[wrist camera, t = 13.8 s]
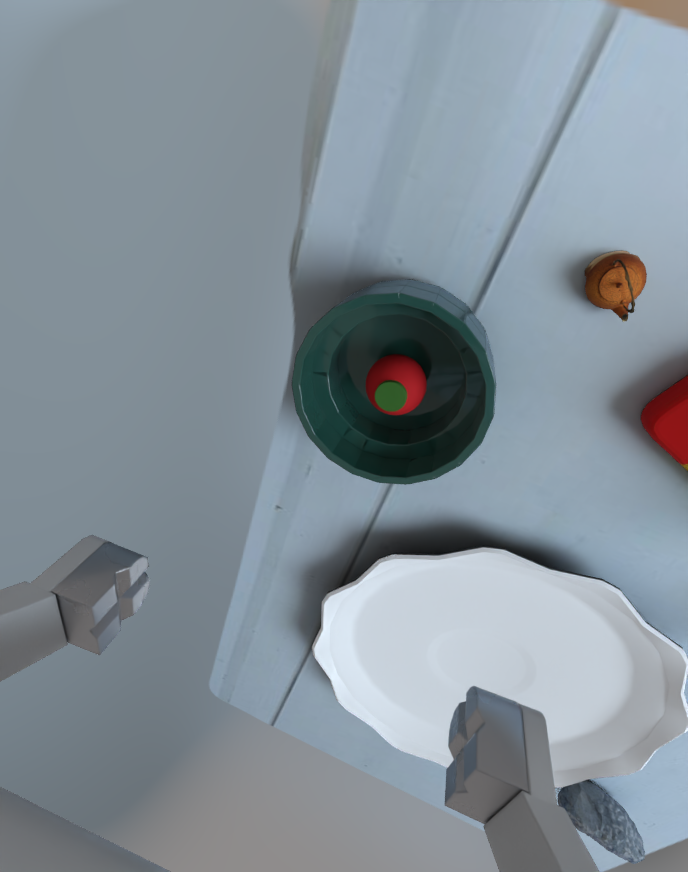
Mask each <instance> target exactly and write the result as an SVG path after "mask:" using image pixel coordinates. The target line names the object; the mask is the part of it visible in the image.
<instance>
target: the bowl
mask: <svg viewBox="0 0 688 872" xmlns="http://www.w3.org/2000/svg"><path fill="white" fill-rule="evenodd" d="M393 354H400V355H405V356H408V357H410V358H412V359H413V360H415V361H416V362H417V363H418V364H419V365H420V366H421V368H422V369H423V371H424V373H425V376H426V382H427V386H426V392H425V395H424V398H423V400H422V401H421V403H420V404H419V405H418V406H417V407H416V408H415V409H414V410H412V411H410V412H408V413H406V414H402V415H389V414H386V413H383V412H381V411H379V410H378V409H377V408H375V407H374V406H373V404H372V403H371V402H370V400H369V398H368V396H367V393H366V378H367V375H368V372H369V370H370V369H371V367H372V366H373V365H374V364H375V363H376V362H377V361H378V360H379V359H381V358H383V357H385V356H388V355H393ZM292 389H293V395H294V401H295V407H296V411H297V414H298V416H299V418H300V420H301V422H302V424H303V427H304V429H305V431H306V433H307V435H308V436H309V438H310V439H311V440H312V441H313V442H314V443H315V445H316V446H317V447H318V448H319V449H320V450H321V451H322V452H323V454H324V455H325V456H326V457H327V458H328V459H330V460H331V461H333V462H334V463H336V464H337V465H339V466H341V467H342V468H344V469H345V470H347V471H348V472H350V473H352V474H354V475H357V476H360V477H363V478H366V479H369V480H372V481H375V482H379V483H391V484H412V483H417V482H422V481H427V480H432V479H435V478H438V477H440V476H441V475H443V474H445V473H447V472H449V471H451V470H453V469H454V468H456V467H458V466H460V465H461V464H462V463H463V462H464V461H465V460H466V459H467V458H468V457H469V456H470V455H471V454H472V453H473V452H474V451H475V450H476V449H477V448H478V447H479V445H480V444H481V443H482V441H483V439H484V437H485V435H486V432H487V430H488V428H489V426H490V424H491V421H492V419H493V417H494V410H495V395H496V379H495V370H494V361H493V355H492V351H491V348H490V344H489V341H488V338H487V334H486V331H485V330H484V327H483V326H482V325H481V323H480V322H479V320H478V319H477V318H476V316H475V315H474V314H473V312H472V311H471V310H470V308H469V307H468V306H467V305H466V304H465V303H464V302H462V301H461V300H459V299H458V298H456V297H455V296H453V295H452V294H450V293H449V292H447V291H446V290H445V289H443V288H441V287H439V286H435V285H431V284H427V283H424V282H420V281H416V280H413V279H412V280H411V279H405V280H391V281H381V282H378V283H376V284H373V285H371V286H368V287H366V288H364V289H361V290H359V291H357V292H355V293H353V294H352V295H350V296H349V297H347V298H346V299H345V300H343V301H342V302H340V303H339V304H338V305H336V306H335V307H334V308H332V309H331V310H330V311H329V312H328V313H327V314H326V315H325V316H323V317H322V318H321V319H320V320H319V321H318V322H317V323H316V324H315V325H314V326H312V327H311V329H310V330H309V332H308V333H307V335H306V337H305V339H304V341H303V343H302V345H301V347H300V349H299V350H298V352H297V354H296V358H295V365H294V371H293V378H292Z"/></svg>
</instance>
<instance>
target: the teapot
mask: <svg viewBox="0 0 688 872" xmlns="http://www.w3.org/2000/svg"><path fill="white" fill-rule="evenodd" d="M646 275H647V274H646V269H645V266H644V264H643V263H642V262H641V260H640V258H639V257H638V256H636V255H633V254H630V253H629V252H627V251H614V252H610V253H606V254H603V255H601V256H599V257H597V258H595V259H594V260H593V261H592V262H591V263H590V264H589V265H588V267H587V268H586V269H585V276H586V284H585V292H586V295H587V297H588V299H589V301H590V302H591V303H593V304H594V305H595V306H597V307H600V308H603V309H611V310H613V312H615V313H616V314H617V315H618V316H619V317H620V318H621V319H622V321H627V319H628V312H630V313H633V312H634V306H635V302H634V300H635V299H636V298H637V297H638V296H639V295H640V294H641V292H642V290H643V288H644V286H645V283H646ZM629 303H631V304H632V309H631V310H628V305H629Z"/></svg>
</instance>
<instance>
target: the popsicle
mask: <svg viewBox="0 0 688 872" xmlns="http://www.w3.org/2000/svg"><path fill="white" fill-rule="evenodd" d="M641 421H642V424H643V427H644V428H645V430H646V431H647V432H648V434H649V435H650V436H651V437H652V438H653V440H655V441H656V442H657V443H658V444H659V445H660V446H661V447H662V448H663V449H664V450H665V451H666V452H668V453H669V454H670V455H671V456H672V457H673V458H674V459H675V460H676V461H677V462H678V463H679V464H680V465H682V466H683V467H684V468H685V469H686V470H687V471H688V375H687V376H686V377H684V378H683V379H682V380H680V381H679V382H677V383H676V384H674V385H673V386H671V387H670V388H668V389H667V390H666V391H664V392H663V393H661V394H660V395H658V396H657V397H655V398H654V399H653V400H652V401H651V402H649V403H648V404H647V405H646V407H645V408H644V409H643V411H642V415H641Z"/></svg>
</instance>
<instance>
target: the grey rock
mask: <svg viewBox="0 0 688 872" xmlns="http://www.w3.org/2000/svg"><path fill="white" fill-rule="evenodd" d="M558 804H559V806H560V807H562V808H564V809H565V810H566V812H567V814H568V816H569V817H570V819H571V821H572V823H573V825H574V826H575V827H576V828H577V829H578V830H579V831H581V832H583V833H585V834H587V835H588V836H590V837H591V838H593V839H594V840H595V841H597V842H598V843H599V844H600V845H602V846H603V847H604V848H606V849H607V850H608V851H610V852H612V853H614V854H616V855H617V856H619V857H621V858H623V859H625V860H627V861H629V862H631V863H633V864H635V863H638V862H640V861H642V860H644V857H645V851H644V848H643V840H642V838H641V836H640V834H639V833H638V831H637V828H636V826H635V824H634V822H633V821H632V820H631V819H630V817H629V815H628V814H627V812H626V811H625V809H624V808H623V807H622V806H621V805H620V804H619V803H618V802H617V801H615V800H614V799H613V798H612V797H610V796H609V795H607V794H606V793H605V792H604V791H603V790H601V789H600V788H599V787H597V786H596V785H594V784H592V783H591V782H588V781H582V782H578V783H575V784H572V785H569V786H565V787H563V788H562V789H561V791H560V792H559V793H558Z"/></svg>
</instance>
